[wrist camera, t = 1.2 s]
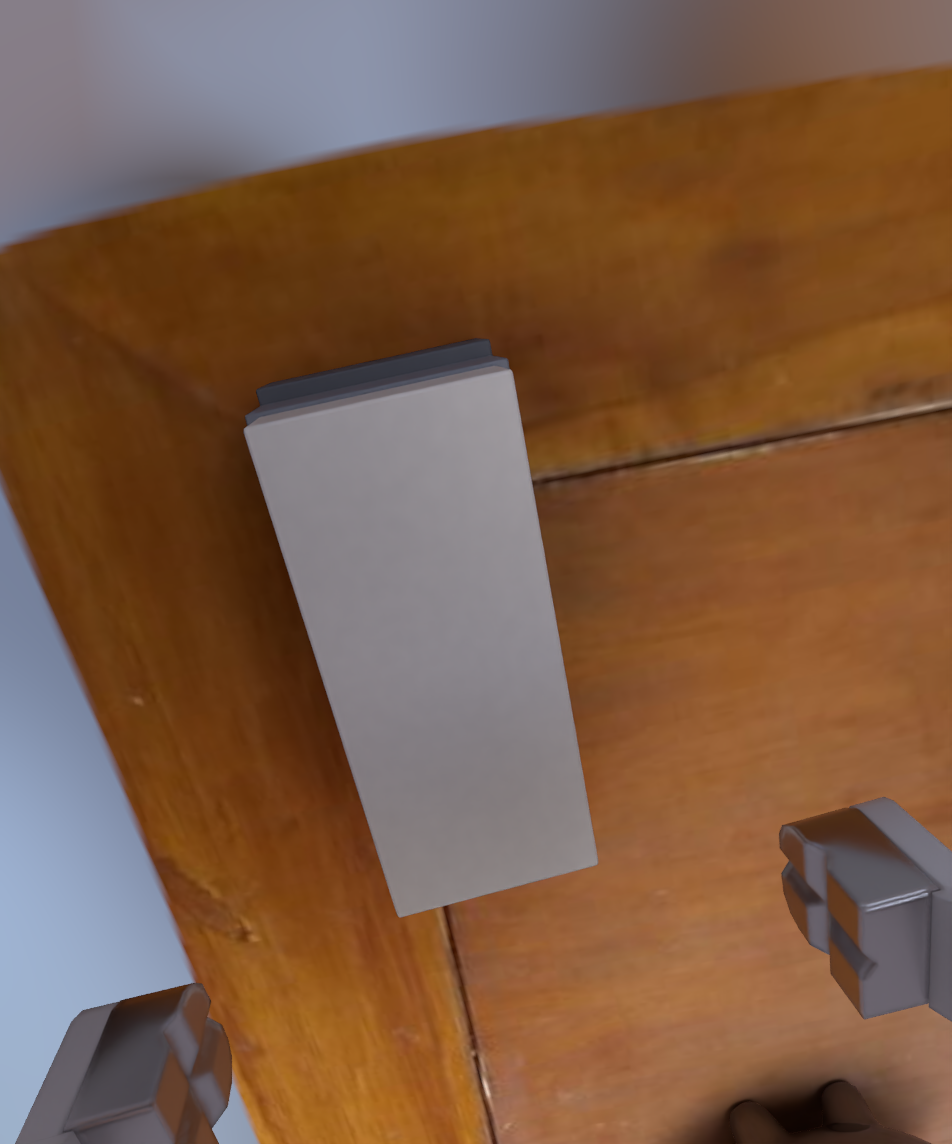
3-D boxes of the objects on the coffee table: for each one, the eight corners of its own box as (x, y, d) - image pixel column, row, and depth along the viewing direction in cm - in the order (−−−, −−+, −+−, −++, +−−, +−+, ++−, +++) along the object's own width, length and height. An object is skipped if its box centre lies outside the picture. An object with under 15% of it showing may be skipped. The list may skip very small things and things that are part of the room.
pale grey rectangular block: (256, 417, 15) (241, 428, 13) (498, 364, 15) (512, 368, 14) (395, 869, 20) (398, 919, 18) (581, 821, 20) (599, 865, 18)
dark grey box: (268, 383, 19) (238, 397, 15) (477, 337, 19) (504, 338, 15) (389, 790, 24) (391, 885, 20) (555, 747, 24) (591, 832, 20)
